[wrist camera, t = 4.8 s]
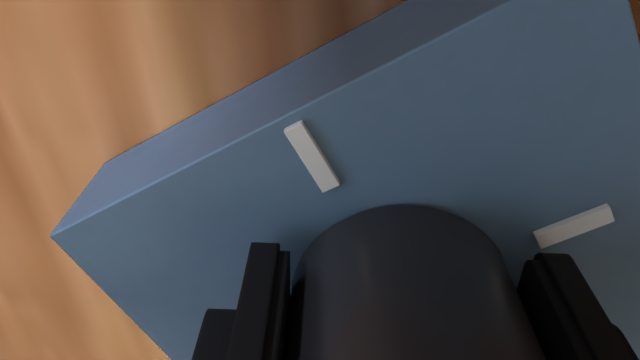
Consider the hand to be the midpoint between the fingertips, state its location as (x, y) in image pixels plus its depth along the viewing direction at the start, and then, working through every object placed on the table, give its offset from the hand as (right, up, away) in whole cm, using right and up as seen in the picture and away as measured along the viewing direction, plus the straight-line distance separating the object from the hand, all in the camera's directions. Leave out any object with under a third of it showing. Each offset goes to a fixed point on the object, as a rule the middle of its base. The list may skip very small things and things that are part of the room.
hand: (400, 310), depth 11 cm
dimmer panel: (0, +2, +3) cm, 4 cm away
